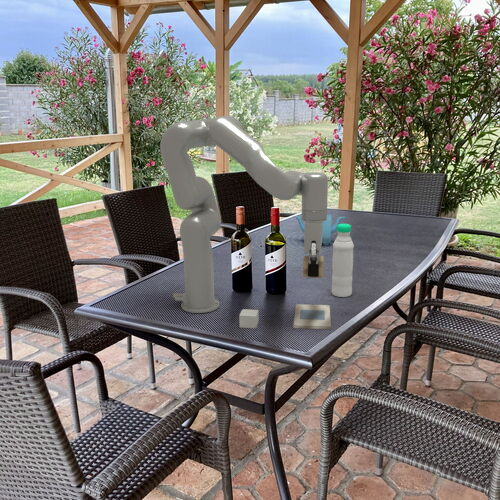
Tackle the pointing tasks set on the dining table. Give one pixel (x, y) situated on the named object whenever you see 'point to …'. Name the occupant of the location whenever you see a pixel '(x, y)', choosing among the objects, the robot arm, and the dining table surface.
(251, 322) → the grey block
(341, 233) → the water bottle
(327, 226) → the teakettle
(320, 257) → the oak block
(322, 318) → the board
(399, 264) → the dining table surface
